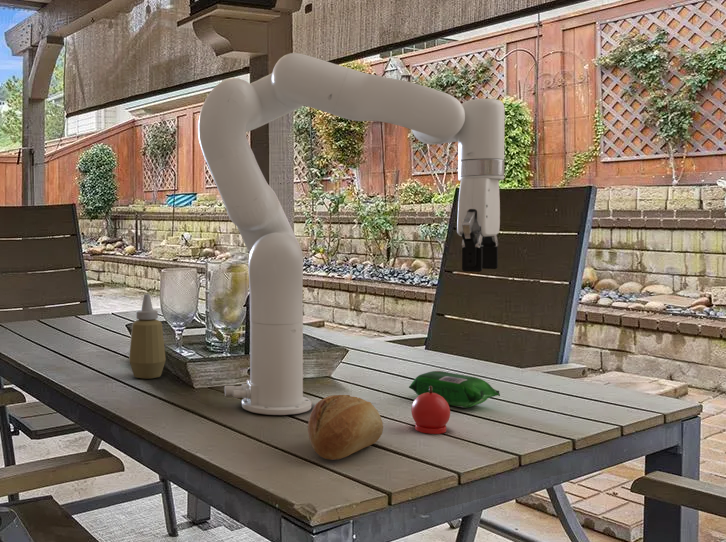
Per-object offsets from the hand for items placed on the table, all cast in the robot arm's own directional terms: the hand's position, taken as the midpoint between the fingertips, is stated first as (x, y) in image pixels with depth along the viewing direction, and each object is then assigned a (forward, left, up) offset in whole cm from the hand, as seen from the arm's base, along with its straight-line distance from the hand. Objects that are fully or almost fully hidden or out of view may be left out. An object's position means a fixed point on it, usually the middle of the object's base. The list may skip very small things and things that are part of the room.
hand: (480, 270), depth 131 cm
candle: (-12, -9, -25) cm, 30 cm away
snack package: (-1, +8, -25) cm, 26 cm away
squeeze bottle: (-57, +38, -25) cm, 73 cm away
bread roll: (-29, -19, -25) cm, 43 cm away
